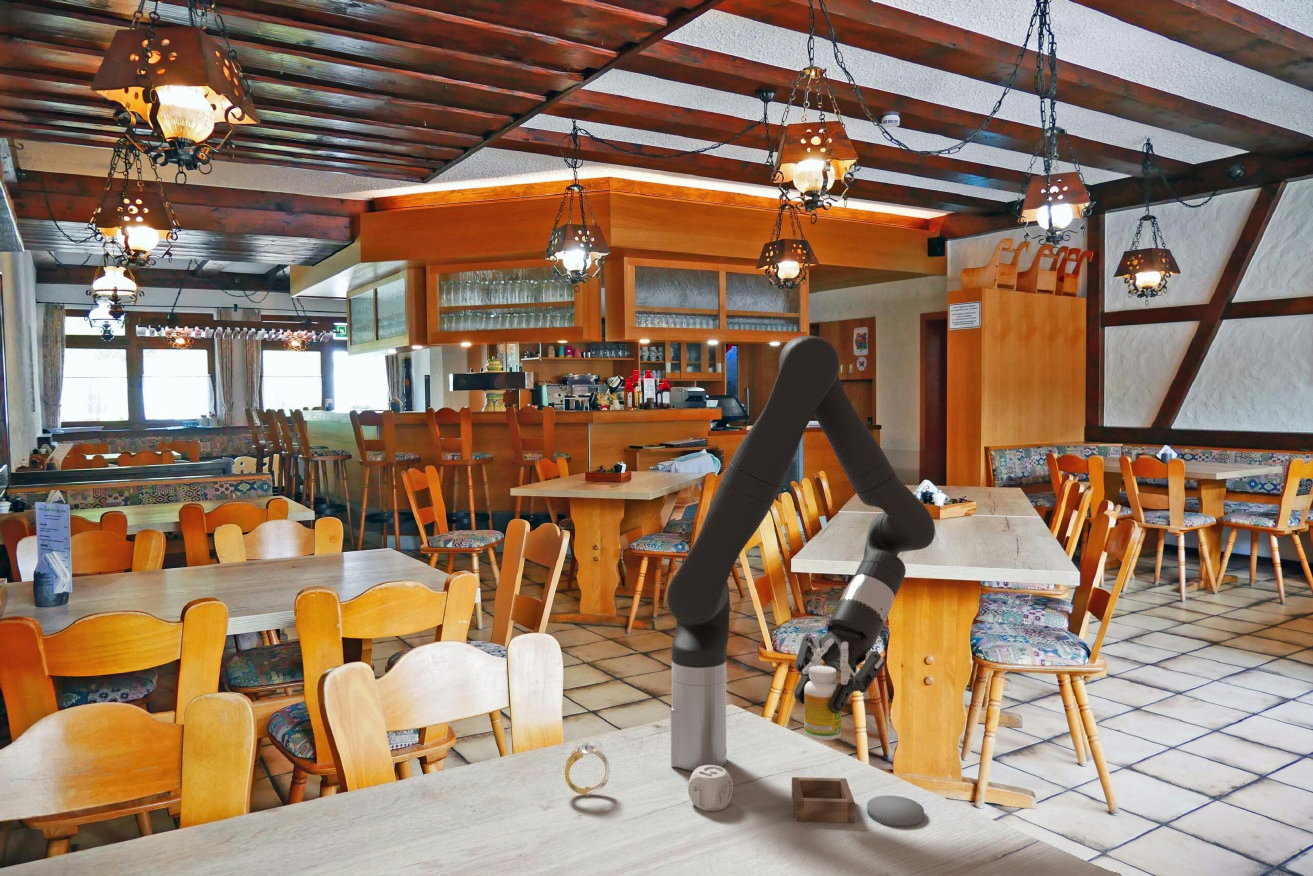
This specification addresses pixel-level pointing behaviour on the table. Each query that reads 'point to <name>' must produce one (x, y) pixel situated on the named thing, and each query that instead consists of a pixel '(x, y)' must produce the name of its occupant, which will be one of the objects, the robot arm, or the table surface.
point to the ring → (582, 750)
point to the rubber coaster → (895, 811)
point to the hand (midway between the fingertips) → (815, 705)
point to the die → (710, 787)
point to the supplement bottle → (821, 704)
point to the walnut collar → (823, 800)
